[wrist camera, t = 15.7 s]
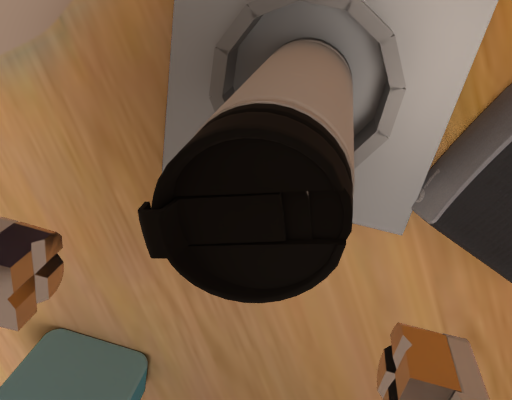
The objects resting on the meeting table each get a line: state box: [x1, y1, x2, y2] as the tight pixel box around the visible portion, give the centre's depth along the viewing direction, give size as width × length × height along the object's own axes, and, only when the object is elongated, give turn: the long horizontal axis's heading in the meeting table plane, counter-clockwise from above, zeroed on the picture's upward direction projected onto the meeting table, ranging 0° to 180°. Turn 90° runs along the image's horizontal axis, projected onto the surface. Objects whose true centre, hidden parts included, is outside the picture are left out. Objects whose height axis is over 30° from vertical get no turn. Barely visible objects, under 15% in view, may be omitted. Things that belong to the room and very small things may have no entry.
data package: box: [0, 329, 148, 400], centre depth 44 cm, size 12×4×12 cm, turn 79°
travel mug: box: [138, 38, 354, 303], centre depth 21 cm, size 6×7×20 cm
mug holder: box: [162, 0, 498, 235], centre depth 29 cm, size 20×20×4 cm
